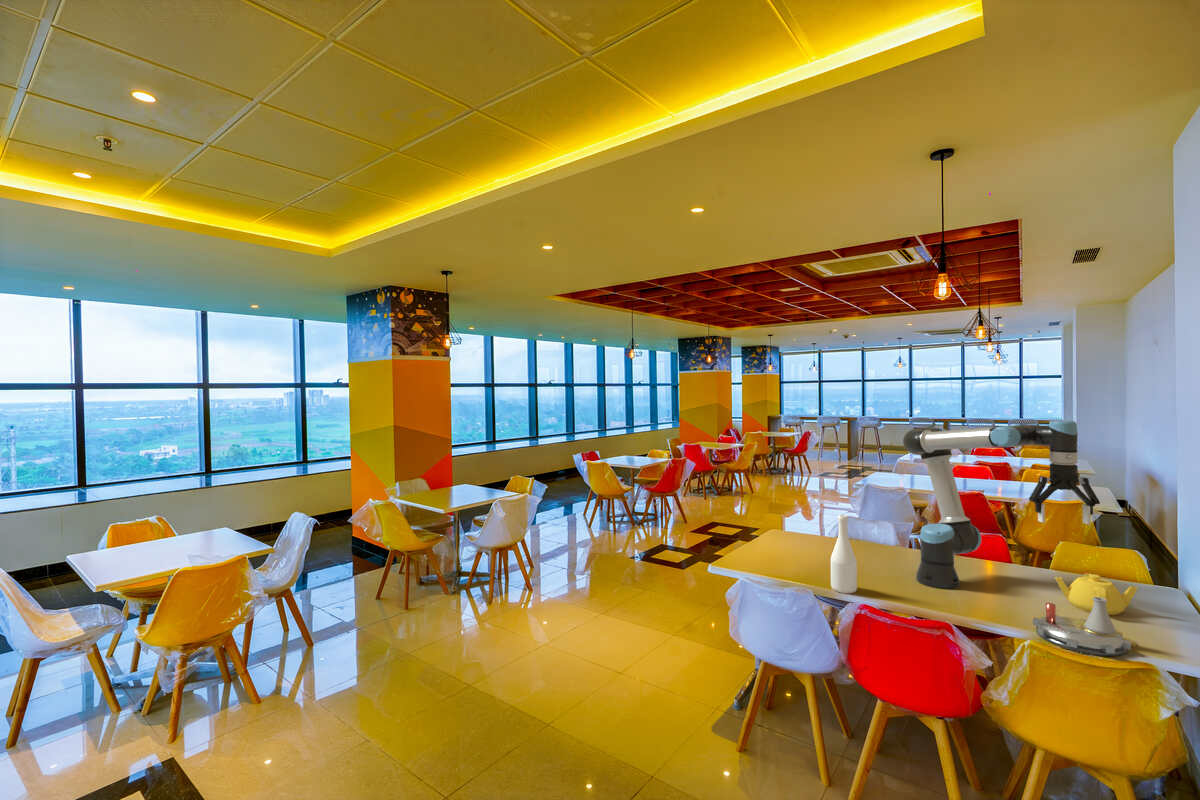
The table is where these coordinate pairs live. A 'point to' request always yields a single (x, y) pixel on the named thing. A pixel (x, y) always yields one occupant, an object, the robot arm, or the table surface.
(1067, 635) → the turntable
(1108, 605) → the teapot
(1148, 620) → the table surface
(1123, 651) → the base
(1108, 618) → the flask
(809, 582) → the table surface
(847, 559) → the wine bottle
